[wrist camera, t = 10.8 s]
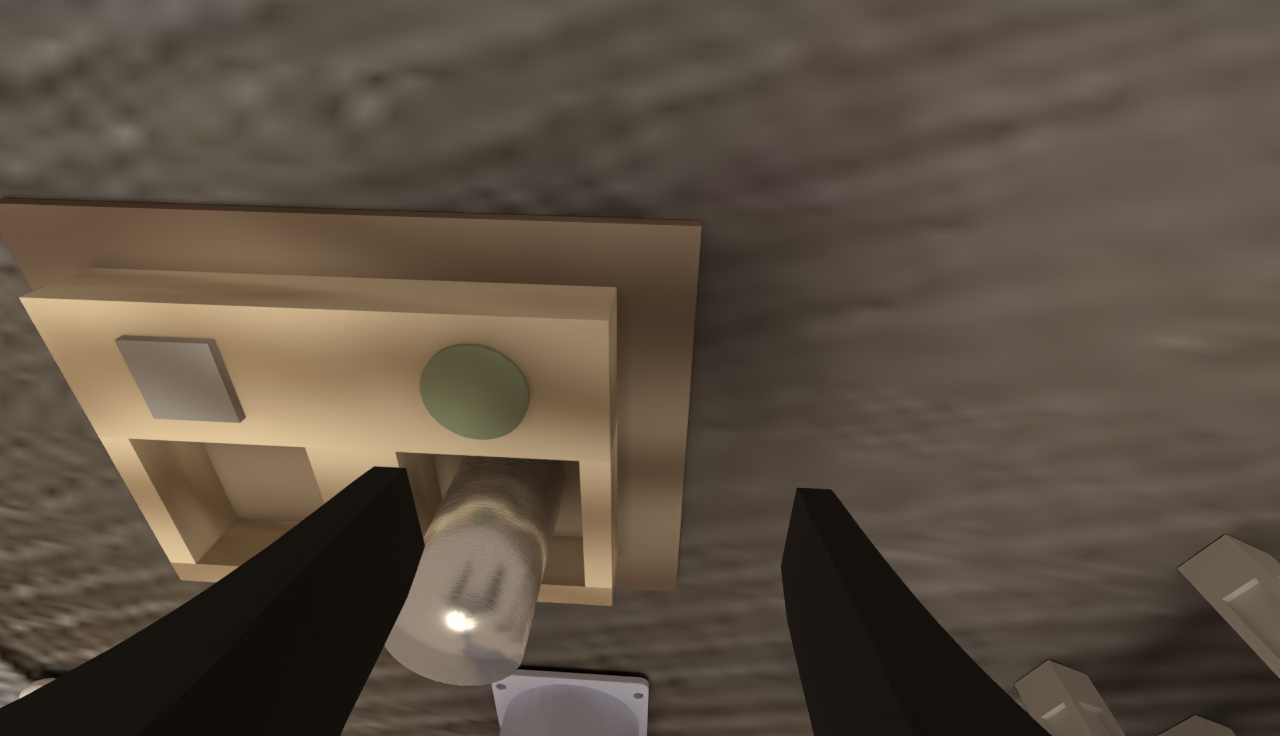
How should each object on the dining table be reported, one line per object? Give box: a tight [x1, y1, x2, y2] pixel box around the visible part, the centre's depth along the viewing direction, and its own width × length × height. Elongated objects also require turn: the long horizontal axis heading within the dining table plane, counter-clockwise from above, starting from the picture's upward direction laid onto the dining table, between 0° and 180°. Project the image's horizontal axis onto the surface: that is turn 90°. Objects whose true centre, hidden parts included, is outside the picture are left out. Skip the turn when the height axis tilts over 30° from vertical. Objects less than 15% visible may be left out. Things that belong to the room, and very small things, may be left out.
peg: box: [385, 455, 566, 686], centre depth 19 cm, size 4×4×7 cm
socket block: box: [0, 198, 702, 606], centre depth 20 cm, size 16×22×3 cm
